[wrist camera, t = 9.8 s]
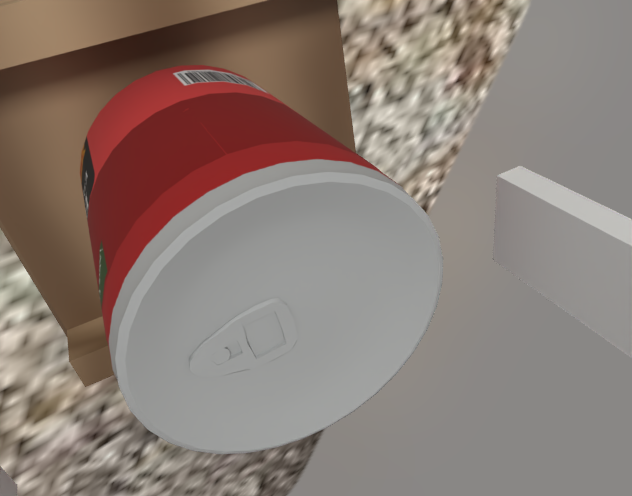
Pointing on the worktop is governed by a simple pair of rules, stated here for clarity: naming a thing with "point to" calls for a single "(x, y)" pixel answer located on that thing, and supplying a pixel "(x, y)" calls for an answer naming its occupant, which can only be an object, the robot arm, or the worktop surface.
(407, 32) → the worktop surface
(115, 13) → the brown square tray
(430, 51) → the worktop surface
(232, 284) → the canned food
